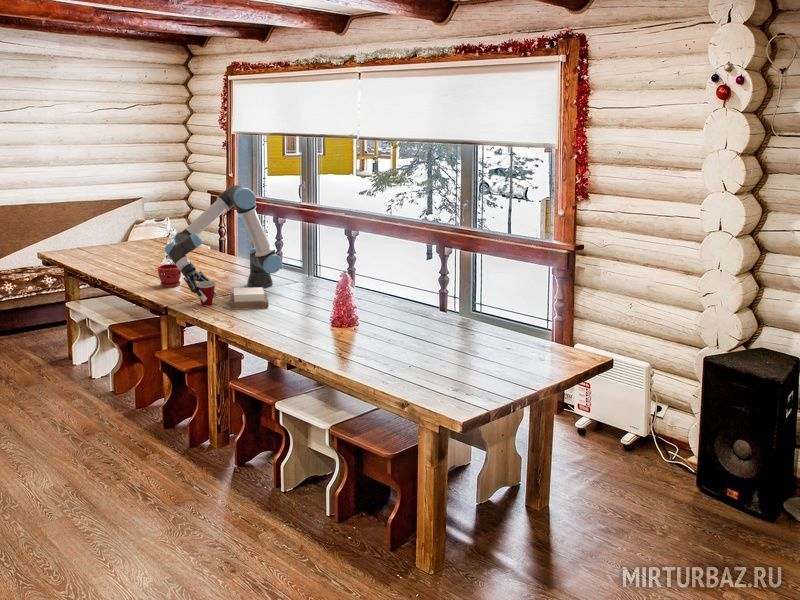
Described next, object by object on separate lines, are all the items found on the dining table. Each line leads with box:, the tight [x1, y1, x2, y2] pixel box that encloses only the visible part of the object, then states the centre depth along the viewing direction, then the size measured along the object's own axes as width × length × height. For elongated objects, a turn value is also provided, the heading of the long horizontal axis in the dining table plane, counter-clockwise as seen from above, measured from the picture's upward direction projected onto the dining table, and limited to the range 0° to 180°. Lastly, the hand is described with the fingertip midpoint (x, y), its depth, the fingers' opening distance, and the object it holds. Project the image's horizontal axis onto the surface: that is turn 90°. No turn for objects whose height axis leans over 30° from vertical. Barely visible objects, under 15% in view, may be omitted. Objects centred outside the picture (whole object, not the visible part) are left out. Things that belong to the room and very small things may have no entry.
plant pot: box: [157, 263, 182, 288], centre depth 479 cm, size 13×13×12 cm
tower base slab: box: [229, 292, 269, 310], centre depth 444 cm, size 20×20×4 cm
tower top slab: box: [233, 287, 265, 302], centre depth 443 cm, size 16×16×4 cm
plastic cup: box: [196, 280, 217, 306], centre depth 439 cm, size 11×11×12 cm
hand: (211, 298), depth 438 cm, fingers closed on plastic cup, 9 cm apart
